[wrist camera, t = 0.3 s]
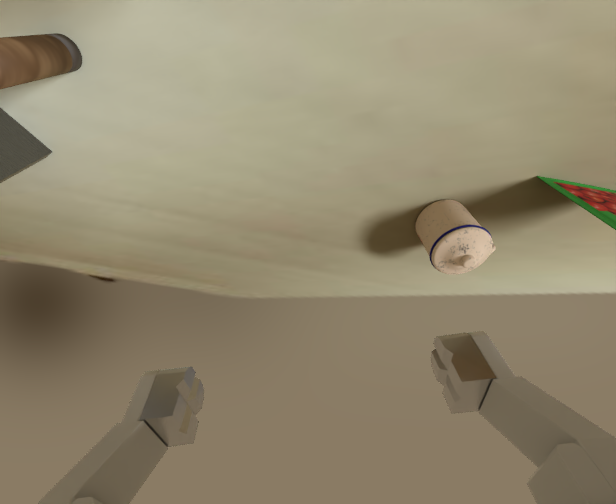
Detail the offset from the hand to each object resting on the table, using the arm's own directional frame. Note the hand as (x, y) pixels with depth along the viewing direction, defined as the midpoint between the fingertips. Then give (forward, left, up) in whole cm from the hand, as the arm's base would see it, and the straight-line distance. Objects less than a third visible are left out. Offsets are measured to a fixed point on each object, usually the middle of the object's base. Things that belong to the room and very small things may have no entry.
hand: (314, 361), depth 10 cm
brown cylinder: (-8, -28, -39) cm, 48 cm away
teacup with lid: (+22, +23, -39) cm, 50 cm away
